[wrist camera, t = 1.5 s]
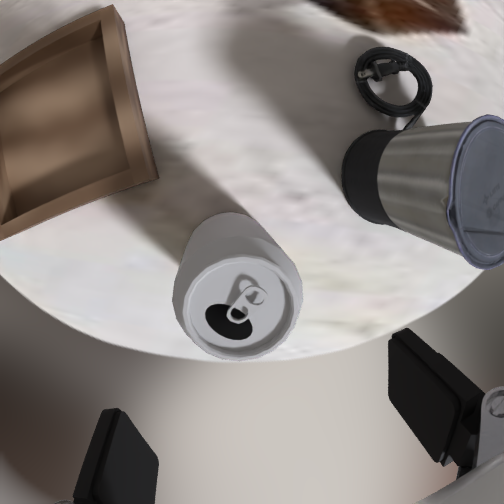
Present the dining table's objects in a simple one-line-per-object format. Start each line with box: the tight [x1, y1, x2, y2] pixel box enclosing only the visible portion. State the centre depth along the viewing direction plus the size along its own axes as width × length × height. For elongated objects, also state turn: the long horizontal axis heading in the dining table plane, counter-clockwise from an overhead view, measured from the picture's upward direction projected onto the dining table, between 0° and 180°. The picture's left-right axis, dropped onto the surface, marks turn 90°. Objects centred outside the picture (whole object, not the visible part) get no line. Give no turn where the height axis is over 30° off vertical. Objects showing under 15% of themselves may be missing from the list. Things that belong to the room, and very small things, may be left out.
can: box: [172, 212, 303, 361], centre depth 21 cm, size 8×8×12 cm
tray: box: [0, 4, 159, 241], centre depth 20 cm, size 16×16×4 cm
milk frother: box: [342, 47, 504, 270], centre depth 19 cm, size 14×16×15 cm
